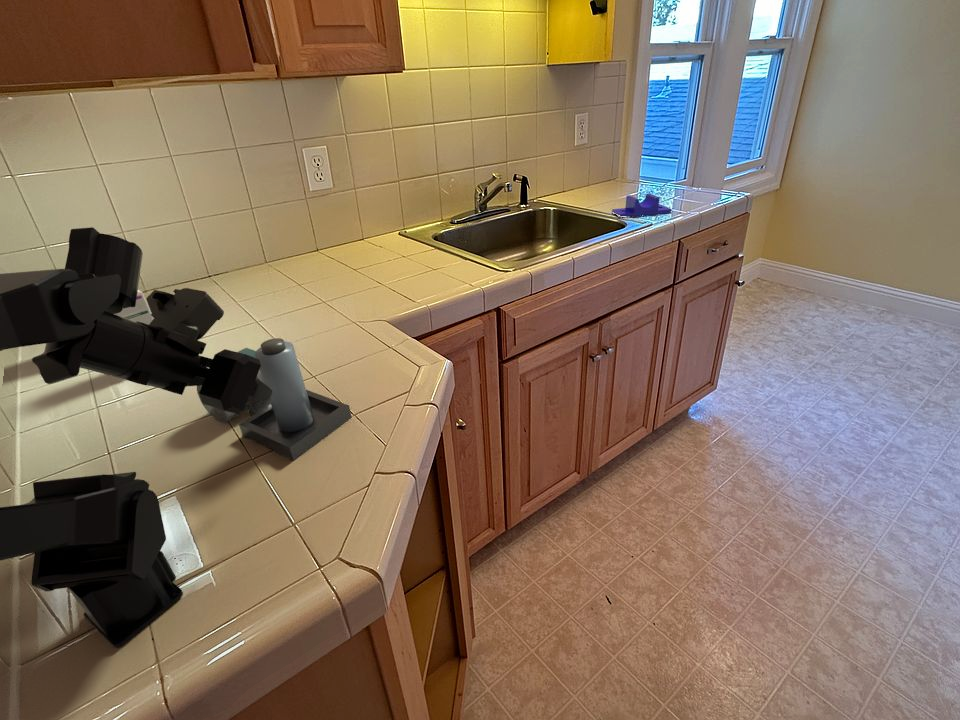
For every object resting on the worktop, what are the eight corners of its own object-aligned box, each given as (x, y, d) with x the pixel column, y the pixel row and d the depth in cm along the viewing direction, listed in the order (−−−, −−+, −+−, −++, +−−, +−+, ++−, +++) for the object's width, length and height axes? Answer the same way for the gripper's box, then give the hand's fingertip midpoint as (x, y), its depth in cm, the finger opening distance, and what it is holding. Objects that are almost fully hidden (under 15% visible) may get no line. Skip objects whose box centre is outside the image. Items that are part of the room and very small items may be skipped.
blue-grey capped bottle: (294, 435, 70) (268, 355, 64) (271, 426, 73) (244, 347, 66) (320, 416, 74) (299, 339, 68) (298, 408, 76) (275, 332, 70)
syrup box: (173, 362, 94) (144, 290, 87) (139, 375, 90) (105, 301, 83) (162, 353, 97) (133, 283, 90) (129, 365, 94) (95, 293, 86)
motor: (293, 460, 67) (277, 409, 63) (203, 417, 77) (184, 370, 73) (351, 417, 75) (341, 369, 71) (262, 383, 85) (249, 339, 81)
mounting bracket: (660, 209, 175) (663, 192, 172) (670, 214, 169) (673, 196, 166) (611, 214, 173) (613, 196, 170) (620, 219, 167) (621, 201, 164)
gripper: (218, 286, 48) (321, 339, 61) (103, 266, 55) (219, 318, 69) (171, 397, 45) (289, 427, 59) (59, 361, 53) (187, 394, 67)
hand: (244, 386), depth 64 cm, fingers open, 9 cm apart
